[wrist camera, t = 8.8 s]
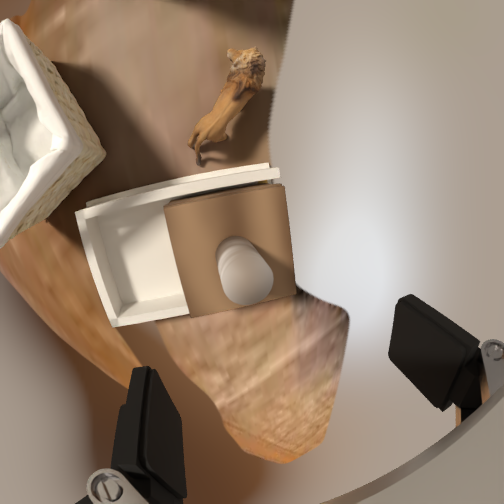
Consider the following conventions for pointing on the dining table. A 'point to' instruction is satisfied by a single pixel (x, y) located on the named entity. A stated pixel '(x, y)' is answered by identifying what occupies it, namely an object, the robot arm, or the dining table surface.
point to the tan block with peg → (232, 247)
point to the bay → (147, 243)
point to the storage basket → (37, 135)
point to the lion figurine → (230, 97)
